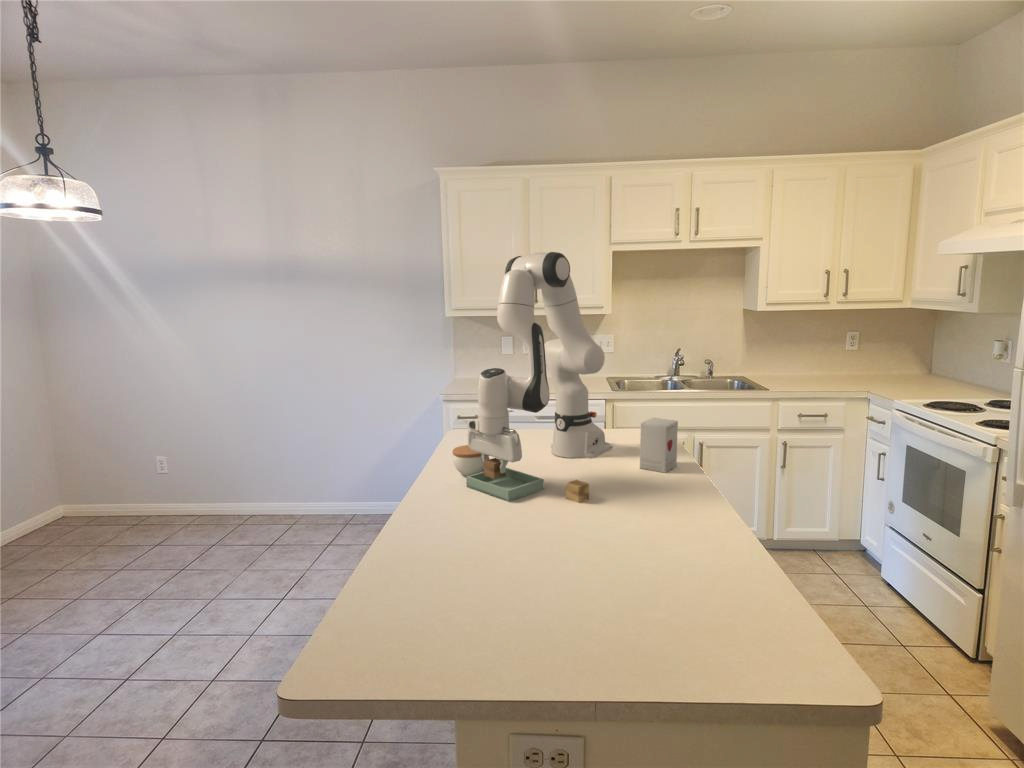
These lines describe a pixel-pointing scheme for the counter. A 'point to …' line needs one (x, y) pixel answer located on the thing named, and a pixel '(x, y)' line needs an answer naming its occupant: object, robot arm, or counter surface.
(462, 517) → the counter surface
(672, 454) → the supplement box
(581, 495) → the oak block
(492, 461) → the walnut block
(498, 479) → the tray
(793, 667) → the counter surface
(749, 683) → the counter surface
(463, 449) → the lidded jar
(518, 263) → the robot arm
